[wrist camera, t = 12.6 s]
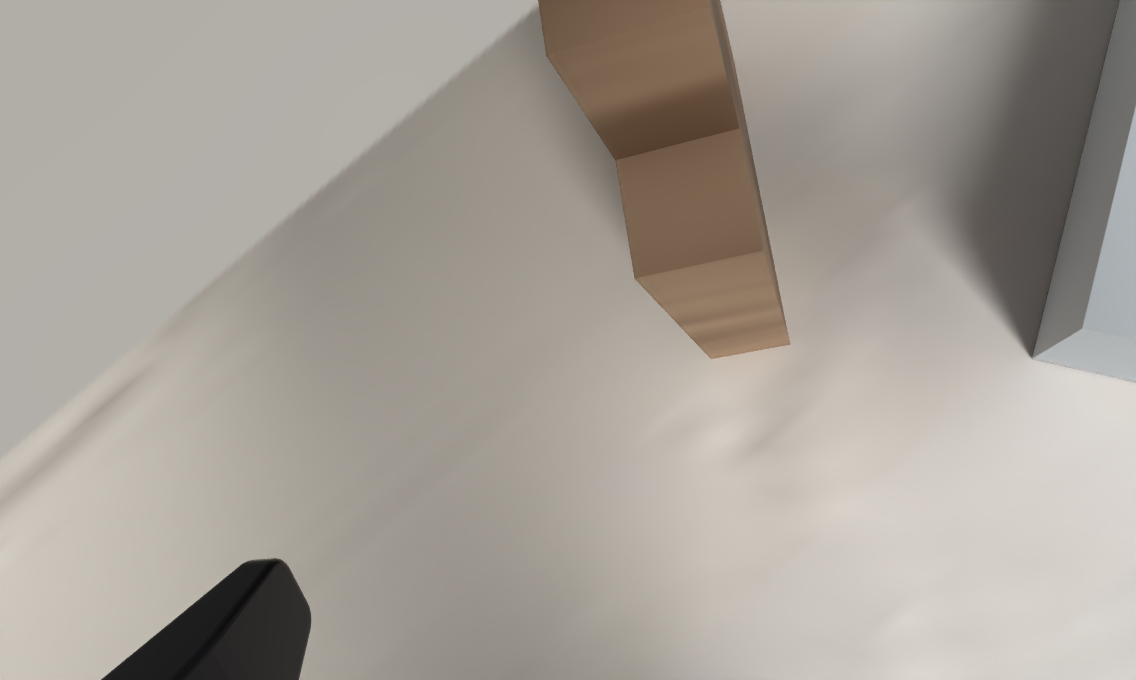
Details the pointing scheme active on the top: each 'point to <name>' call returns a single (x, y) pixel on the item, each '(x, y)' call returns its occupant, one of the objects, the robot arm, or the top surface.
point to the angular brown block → (676, 159)
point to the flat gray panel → (1100, 230)
